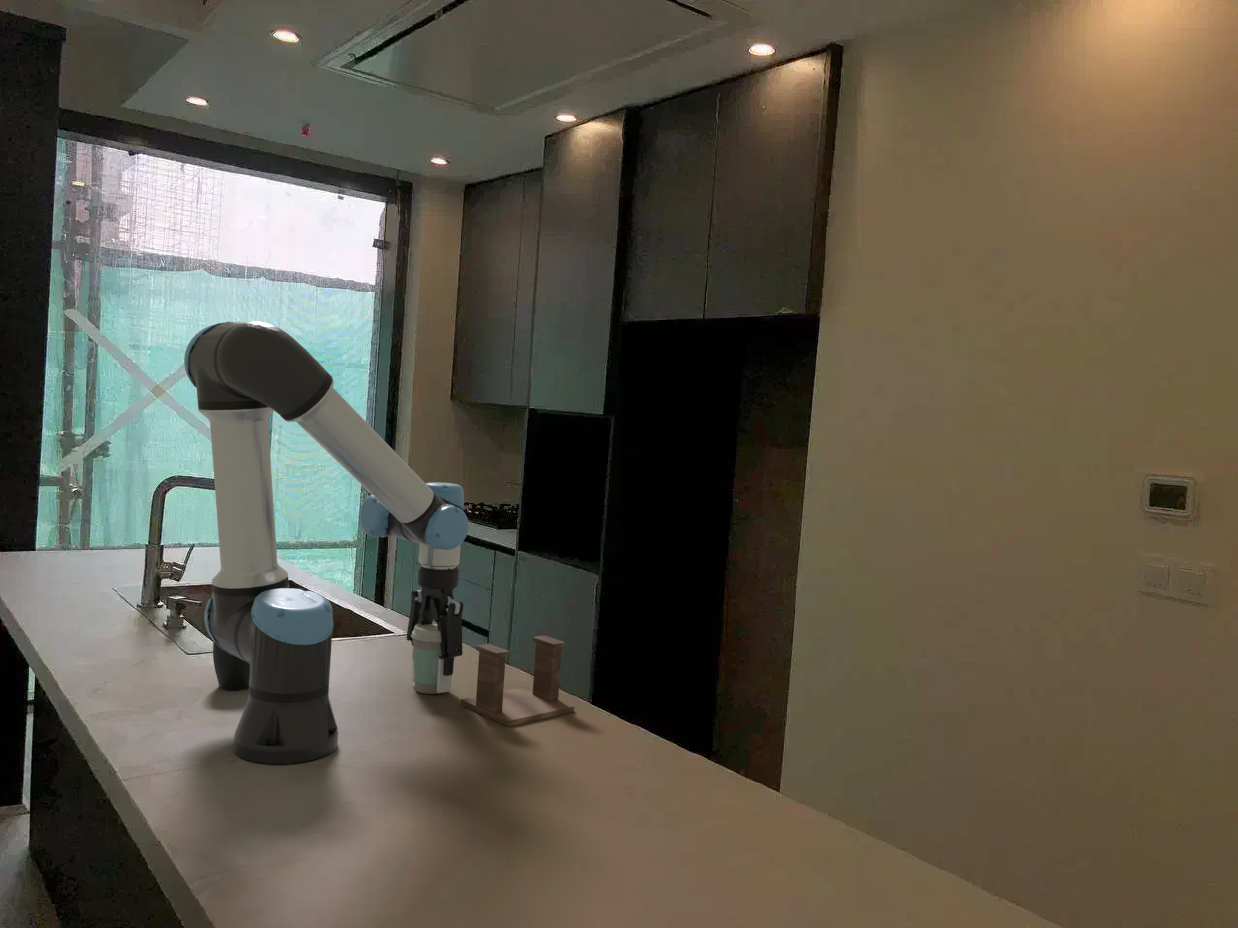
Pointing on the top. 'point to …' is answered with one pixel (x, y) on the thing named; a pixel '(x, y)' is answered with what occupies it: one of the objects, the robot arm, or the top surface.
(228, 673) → the mug
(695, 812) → the top surface
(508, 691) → the wooden stand
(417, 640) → the coffee cup
